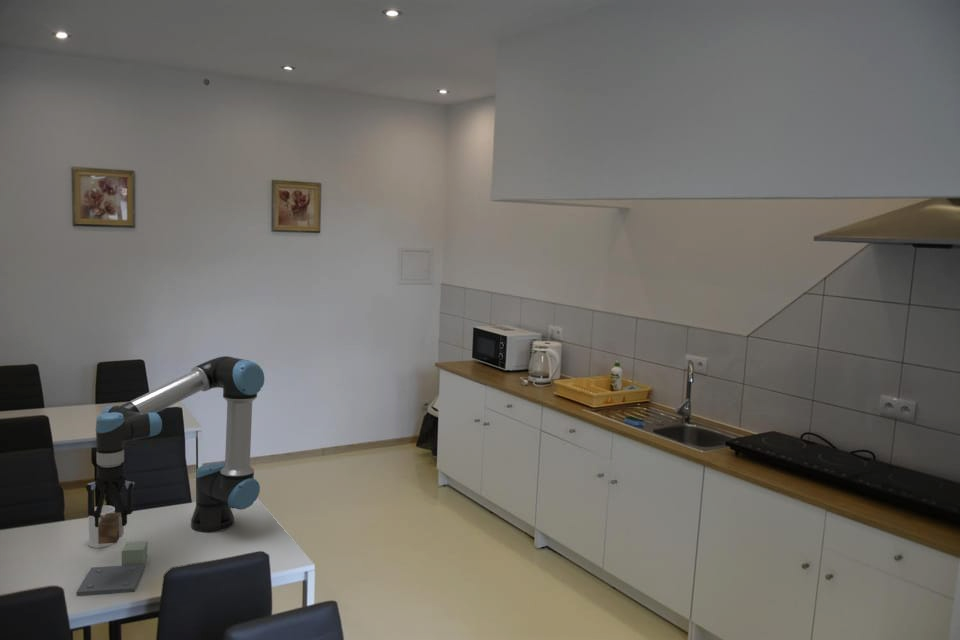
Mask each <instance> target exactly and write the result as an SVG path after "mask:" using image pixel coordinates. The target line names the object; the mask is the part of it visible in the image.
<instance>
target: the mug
mask: <svg viewBox="0 0 960 640" xmlns="http://www.w3.org/2000/svg"><path fill="white" fill-rule="evenodd" d="M96 508H97V506H94V511H96ZM106 513H116V508H115V506H114V505H113V506H112V505H103V507H102V511H101V514H100V515H104V516H105V514H106ZM87 544H88V546H89V547H90V548H97V549H98V548H99V549H102V548H107V547H110V546H112V545H115V543H105V544H98V527H95V517H94V516H88V543H87ZM106 546H107V547H106ZM101 547H102V548H101Z"/></svg>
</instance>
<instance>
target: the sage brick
mask: <svg viewBox="0 0 960 640" xmlns="http://www.w3.org/2000/svg"><path fill="white" fill-rule="evenodd" d="M124 544H125V545H124V546H123V548H122V550H121V566H122V565H138V564H146V562H147V560H148V558H149V557H148V552H149V550H148V541H145V540H144V541H143V540H142V541H128V542H125V543H124Z"/></svg>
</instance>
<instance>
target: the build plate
mask: <svg viewBox="0 0 960 640" xmlns="http://www.w3.org/2000/svg"><path fill="white" fill-rule="evenodd" d="M145 567H146V563H145V564H138V565H122V564H121V565H110V566H109V565H108V566H93V567H90V568H89V571H88V573H87V574H86V575H85V577H84V579H83V581H82V582H81V583H80V586H78V589H77V591H76V594H75V595H76V596H77V597H78V596H93V595H106V594H121V593H122V592H123V593H130V592H131V593H134V592H136V590H137V587H138V585H139V583H140V580H141V579H142V576H143V574H144V572H145V570H146V568H145ZM144 569H145V570H144ZM135 589H136V590H135Z"/></svg>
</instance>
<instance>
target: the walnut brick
mask: <svg viewBox="0 0 960 640" xmlns="http://www.w3.org/2000/svg"><path fill="white" fill-rule="evenodd" d="M120 515H121V512H115V513H106V514H105V516H104V517H103V519H102V520H101V522H100V523H99V524H98V544H105V543H114V544H116V543H118V541H119V539H120V538H121V537H119V516H120Z"/></svg>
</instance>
